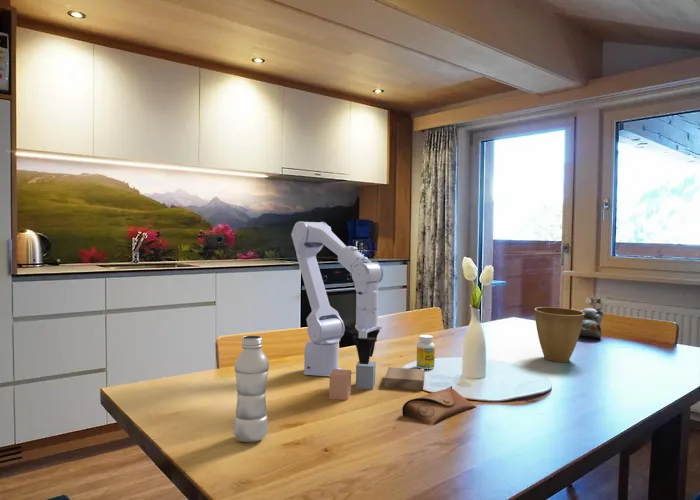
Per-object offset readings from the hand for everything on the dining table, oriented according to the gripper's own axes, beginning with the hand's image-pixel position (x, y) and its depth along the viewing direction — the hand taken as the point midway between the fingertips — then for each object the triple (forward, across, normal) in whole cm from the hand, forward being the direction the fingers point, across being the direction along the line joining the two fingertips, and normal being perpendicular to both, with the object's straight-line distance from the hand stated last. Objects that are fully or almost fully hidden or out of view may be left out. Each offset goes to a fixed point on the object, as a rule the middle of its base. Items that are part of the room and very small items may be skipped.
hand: (366, 359), depth 127 cm
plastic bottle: (+7, -37, +17) cm, 41 cm away
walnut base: (+7, +5, -10) cm, 13 cm away
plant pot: (+7, +41, -57) cm, 71 cm away
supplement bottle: (+7, +21, -15) cm, 27 cm away
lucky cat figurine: (+7, +80, -76) cm, 110 cm away
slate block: (+7, 0, 0) cm, 7 cm away
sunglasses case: (+8, -13, -19) cm, 25 cm away
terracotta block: (+7, -9, +5) cm, 12 cm away
